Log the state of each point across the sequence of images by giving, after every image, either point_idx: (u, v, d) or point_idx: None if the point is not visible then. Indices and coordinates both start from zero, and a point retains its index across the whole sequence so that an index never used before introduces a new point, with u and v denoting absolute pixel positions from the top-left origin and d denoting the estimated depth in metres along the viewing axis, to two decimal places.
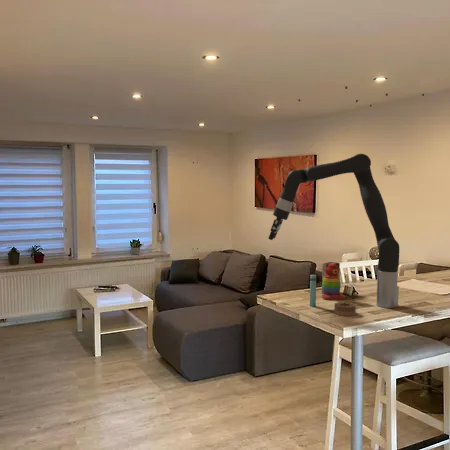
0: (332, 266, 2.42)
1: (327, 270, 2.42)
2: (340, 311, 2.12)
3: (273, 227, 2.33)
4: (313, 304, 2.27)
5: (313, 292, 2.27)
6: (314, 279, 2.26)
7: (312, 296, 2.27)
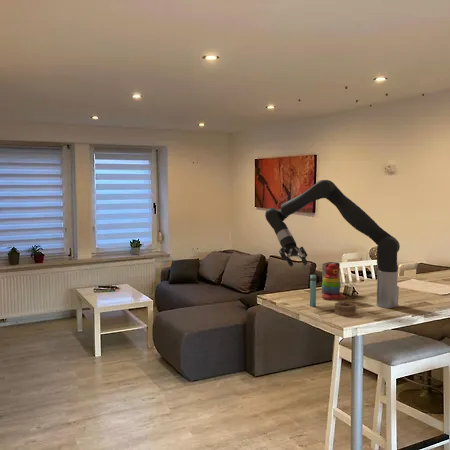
0: (332, 266, 2.42)
1: (327, 270, 2.42)
2: (340, 311, 2.12)
3: (286, 256, 2.39)
4: (313, 304, 2.27)
5: (313, 292, 2.27)
6: (314, 279, 2.26)
7: (312, 296, 2.27)
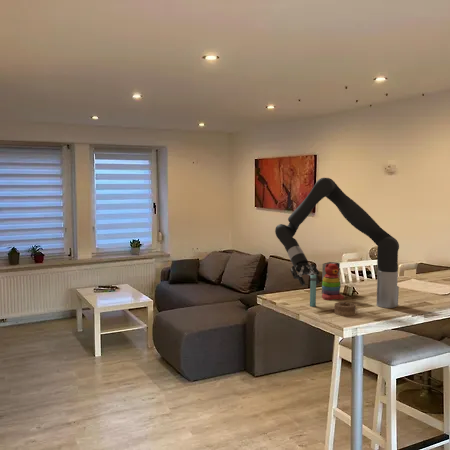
0: (332, 266, 2.42)
1: (327, 270, 2.42)
2: (340, 311, 2.12)
3: (298, 274, 2.31)
4: (313, 304, 2.27)
5: (313, 292, 2.27)
6: (314, 279, 2.26)
7: (312, 296, 2.27)
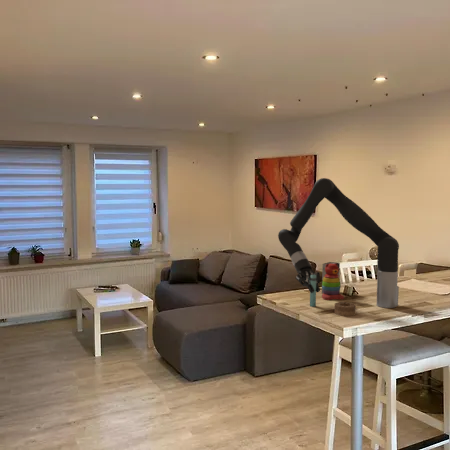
0: (332, 266, 2.42)
1: (327, 270, 2.42)
2: (340, 311, 2.12)
3: None
4: (313, 304, 2.27)
5: (313, 292, 2.27)
6: (314, 279, 2.26)
7: (312, 296, 2.27)
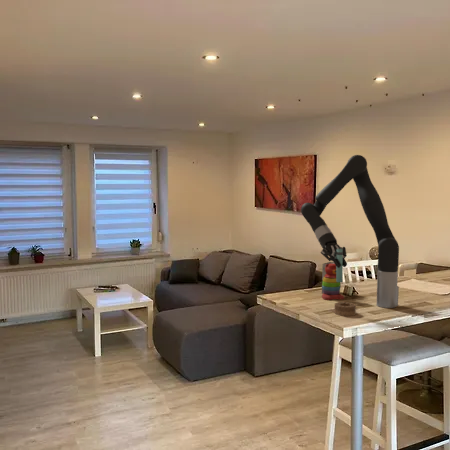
0: (332, 266, 2.42)
1: (327, 270, 2.42)
2: (340, 311, 2.12)
3: None
4: (340, 279, 2.16)
5: (340, 267, 2.15)
6: (340, 253, 2.15)
7: (339, 271, 2.16)
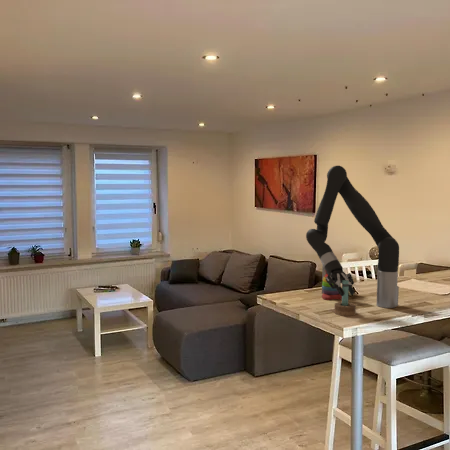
0: None
1: None
2: (340, 311, 2.12)
3: (335, 284, 2.16)
4: None
5: (345, 299, 2.14)
6: (346, 285, 2.14)
7: (344, 303, 2.14)
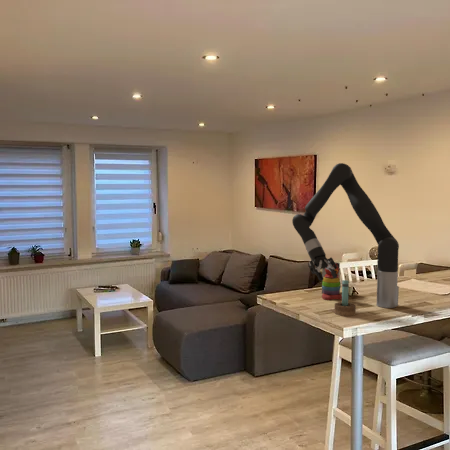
0: None
1: (327, 270, 2.42)
2: (340, 311, 2.12)
3: (316, 269, 2.28)
4: None
5: (345, 299, 2.14)
6: (346, 285, 2.14)
7: (344, 303, 2.14)
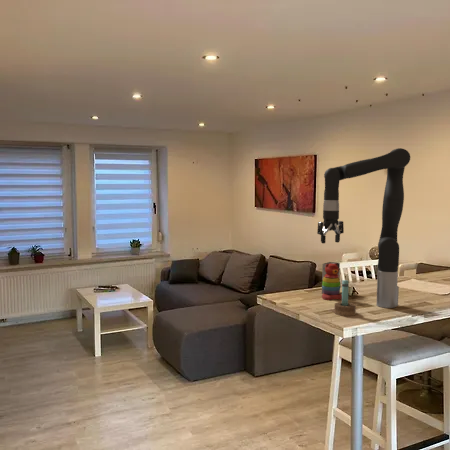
0: (332, 266, 2.42)
1: (327, 270, 2.42)
2: (340, 311, 2.12)
3: (323, 230, 2.29)
4: None
5: (345, 299, 2.14)
6: (346, 285, 2.14)
7: (344, 303, 2.14)
